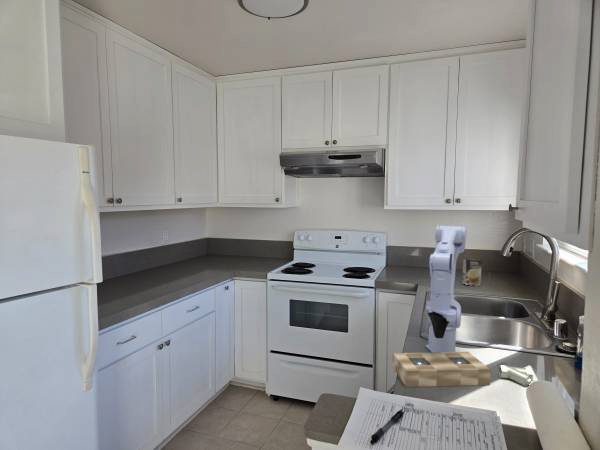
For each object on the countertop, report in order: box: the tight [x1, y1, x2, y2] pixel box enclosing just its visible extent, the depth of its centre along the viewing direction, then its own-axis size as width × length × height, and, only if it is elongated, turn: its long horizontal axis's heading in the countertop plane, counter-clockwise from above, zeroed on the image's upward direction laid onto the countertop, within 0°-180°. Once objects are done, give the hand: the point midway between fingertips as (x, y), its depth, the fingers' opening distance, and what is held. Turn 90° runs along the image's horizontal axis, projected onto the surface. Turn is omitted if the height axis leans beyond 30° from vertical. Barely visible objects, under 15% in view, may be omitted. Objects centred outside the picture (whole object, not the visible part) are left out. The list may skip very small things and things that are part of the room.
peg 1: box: [412, 358, 427, 365], centre depth 108 cm, size 4×4×4 cm
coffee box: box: [461, 258, 483, 286], centre depth 227 cm, size 9×6×16 cm
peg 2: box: [451, 358, 467, 364], centre depth 109 cm, size 4×4×4 cm
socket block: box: [391, 351, 492, 388], centre depth 109 cm, size 12×24×4 cm, turn 94°
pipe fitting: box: [498, 364, 534, 387], centre depth 106 cm, size 8×4×7 cm
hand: (438, 337), depth 111 cm, fingers closed
